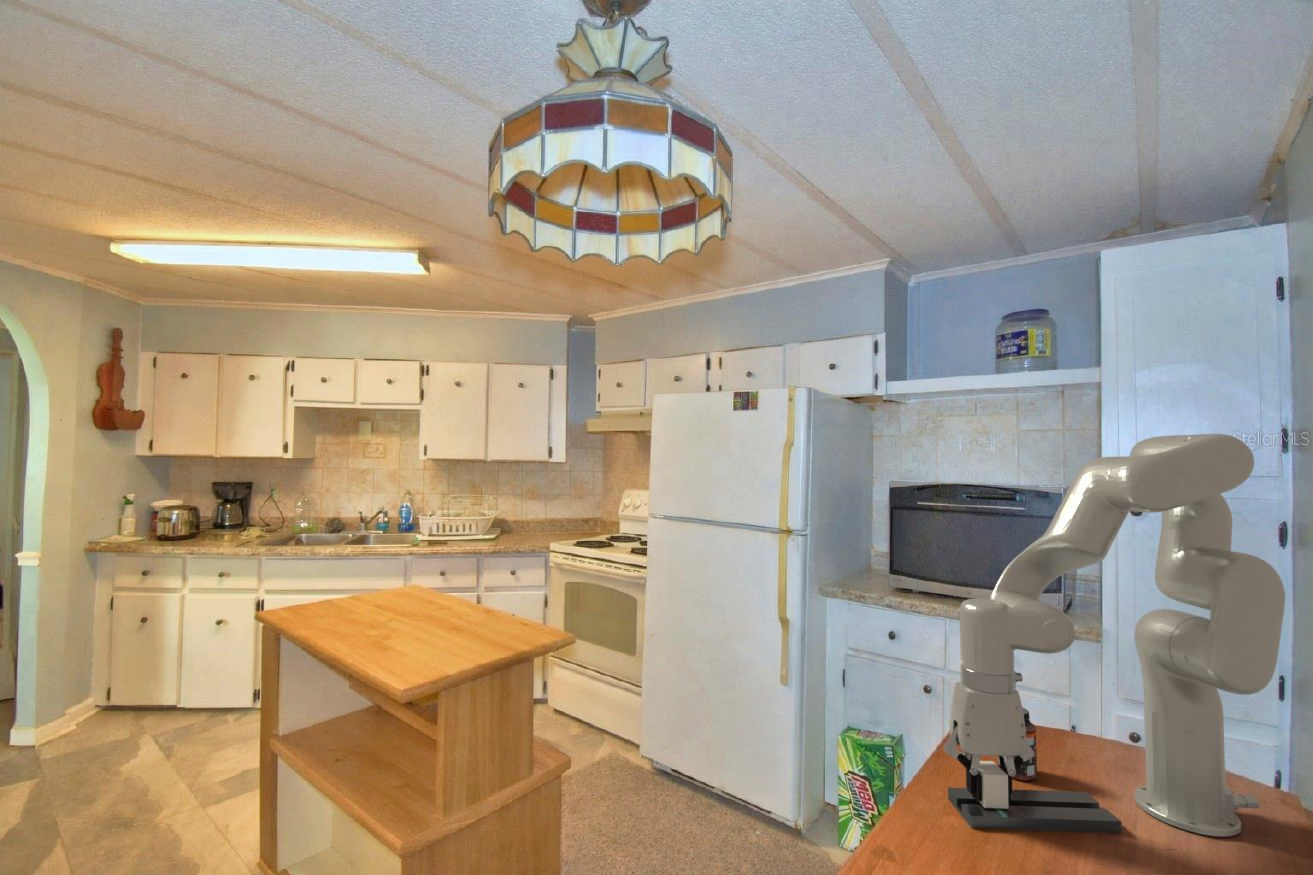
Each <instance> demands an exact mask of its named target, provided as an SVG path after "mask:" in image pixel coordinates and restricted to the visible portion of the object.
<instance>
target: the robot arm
mask: <svg viewBox="0 0 1313 875" xmlns="http://www.w3.org/2000/svg"><path fill="white" fill-rule="evenodd" d="M1254 467H1255V457H1254V454H1253V451H1252V449H1251V448H1250V447H1249V446H1248V444H1246V443H1245V442H1244V441H1243V440H1241V439H1239V438H1237V437H1235V436H1232V435H1229V434H1224V433H1202V434H1201V433H1200V434H1181V435H1179V434H1178V435H1177V434H1175V435H1161V436H1154V437H1149V438H1145V439H1143V440H1140V441H1139V442H1136V443H1135V444H1134V446H1133V447H1132V448H1131V450H1130V454H1129V456H1127V455H1126V456H1123V455H1122V456H1104V457H1096V458H1093V459H1091V460H1088V461H1087V462H1085V463H1083V465H1082V466H1081V467H1080V468H1079V470H1078V471H1077V473H1076V475H1075V476H1074V478H1073V481H1072V482H1071V484H1070V486H1069V487H1068V490H1067V492H1066V493H1065V495H1064V497H1063V499H1062V501H1061V503H1060V504H1059V507H1058V508H1057V510H1056V513H1055V515H1054V516H1053V518H1052V520H1051V522H1050V524H1049V525H1048V527H1047V529H1046V530H1045V532H1044V534H1043V535H1041V537H1039V538H1038V539H1036V540H1035V541H1034V542H1032V543H1031V544H1029V545H1028V546H1027V547H1026V548H1025V549H1024V550H1023V551H1022V552H1020V553H1019V554H1018V555H1017V556H1016V557H1014V558H1013V559H1012V561H1010V562H1009V564H1008V565H1007V566H1006V567H1005V569H1004V570H1003V571H1002V573H1001V575H1000V576H999V578H998V580H997V582H996V583H995V586H994V588H993V590H992V592H991V594H990V597H989V599H988V598H968V599H964V600H963V601H962V603H961V604H960V606H959V635H960V637H959V642H960V643H959V644H960V645H959V646H960V647H959V648H960V651H959V652H960V655H959V656H960V681H959V682H958V681H957V682H955V683H954V684H955V685H954V688H953V691H952V692H953V693H952V697H951V699H952V700H951V706H950V713H949V714H950V715H949V717H950V718H949V737H948V738H947V740H946V741H945V743H944V744H943V750H944V752H945V753H946V754H947V755H949V756H950V757H952V758H954V759H955V760H957V761H958V762H959V763H960V764H961V765H962V766H963V767H964V768H965V780H966V781H965V786H966V787H965V788H967V790H968V791H969V792H970V793H971V795H972V796H973V797H974V798H975V799H976V800H977V801H981V800H982V777H981V775H980V774H979V763H980V761H981V756H987V757H988V756H989V757H991V756H992V757H997V762H999V764H998V766H999V767H1000V768H1001V769H1002V770H1003V771H1004V772H1005V773H1006V774H1007V775H1008V802H1011V794H1012V790H1013V778H1012V776H1014V775H1015V774H1016V770H1017V769H1018V768H1019V767H1020V766H1021V765H1022V764H1023V762H1024V761H1027V760H1029V759H1030V758H1032V757H1033V756H1034V755H1035V753H1034V751H1033V750H1032V748H1031V747H1030V745H1029V743H1028V742H1027V740H1026V730H1025V721H1024V714H1023V709H1022V707H1023V705H1022V701H1021V697H1020V692H1019V691H1018V689H1016V688H1017V687H1016V683H1018V682H1023V680H1024V679H1023V674H1022V673H1021V672H1017V671H1016V670H1015V650H1019V651H1025V652H1026V651H1027V652H1031V653H1037V654H1048V655H1049V654H1050V655H1051V654H1057V653H1061V652H1063V651H1065V650H1067V649H1068V648H1070V646H1072V645H1073V643H1074V641H1075V639H1076V627H1075V624H1074V623H1073V622H1074V621H1072V619H1071V617H1069V615H1068V614H1067V613H1065V612H1064V611H1063V610H1061V609H1060V608H1058V607H1056V606H1054V605H1051V604H1048V603H1045V602H1043V601H1040V600H1039V599H1040V597H1041V596H1042V594H1043V592H1044V591H1045V590H1046V588H1047V587H1048V586H1049V585H1050V584H1051V583H1052V582H1054V581H1055V580H1056V579H1057V578H1059V577H1061V576H1063V575H1065V574H1067V573H1070V572H1074V571H1077V570H1079V569H1080V570H1081V569H1083V568H1087V567H1089V566H1093V565H1094V564H1095V565H1096V564H1098V563H1100V562H1101V561H1103V560H1104V559H1105V558H1106V557H1107V555H1108V553H1109V551H1110V549H1111V547H1112V545H1113V543H1114V541H1115V539H1116V537H1117V536H1118V533H1119V531H1120V530H1121V527H1122V526H1123V523H1124V522H1125V521H1126V519H1127V517H1128V515H1129V513H1130V511H1131V512H1139V513H1140V512H1141V513H1161V525H1160V526H1161V527H1160V534H1159V535H1160V536H1159V542H1158V548H1157V549H1158V550H1157V555H1156V556H1157V557H1156V561H1155V562H1156V563H1155V568H1154V569H1155V572H1154V580H1155V585H1156V587H1157V589H1158V590H1159V591H1160V593H1162V594H1163V595H1164V596H1165V597H1167V598H1169V599H1171V600H1174V601H1176V602H1178V603H1182V604H1185V605H1189V606H1192V607H1196V608H1200V609H1204V610H1206V611H1207V610H1208V611H1209V613H1210V615H1209V618H1207V617H1203V616H1200V615H1196V614H1193V613H1188V612H1185V611H1182V610H1181V611H1180V610H1176V609H1170V608H1169V609H1166V608H1163V609H1162V608H1161V609H1155V610H1151V611H1149V612H1146V613H1144V614H1143V615H1142V616H1141V617H1140V618H1139V620H1138V621H1137V623H1136V625H1135V628H1134V644H1135V647H1136V653H1137V657H1138V661H1139V664H1140V668H1141V676H1142V683H1143V684H1142V685H1143V699H1144V700H1143V703H1144V704H1143V709H1144V710H1143V712H1144V714H1143V715H1144V716H1143V717H1144V744H1145V745H1144V747H1145V753H1144V754H1145V781H1146V784H1145V785H1142V786H1138V787H1137V788H1136V789H1135V790H1134V800H1135V802H1136V804H1137V805H1138V806H1139V808H1141V809H1142V810H1144V812H1146V813H1147V814H1149V815H1150V816H1152V817H1154V818H1156V819H1157V820H1160V821H1161V822H1163V823H1166V824H1168V825H1170V826H1173V827H1175V828H1178V829H1181V830H1185V831H1188V832H1189V833H1190V832H1191V833H1195V834H1199V835H1204V836H1209V837H1217V838H1223V837H1224V838H1225V837H1228V838H1229V837H1234V836H1236V835H1239V834H1240V833H1241V832H1242V822H1241V819H1240V818H1239V817H1238V815H1237V814H1235V811H1237V810H1239V809H1240V808H1243V809H1259V808H1260V802H1259V799H1258V798H1257V797H1256V796H1255V795H1254V794H1251V793H1250V794H1249V793H1235V791H1234V790H1233V789H1232V787H1228V786H1227V785H1226V783H1227V782H1226V762H1225V761H1226V758H1225V756H1226V755H1225V731H1224V730H1225V728H1224V727H1225V726H1224V722H1225V721H1224V708H1223V707H1224V706H1223V702H1222V699H1221V697H1220V693H1219V690H1221V691H1223V692H1227V693H1230V694H1233V695H1235V694H1236V695H1241V696H1247V695H1248V696H1249V695H1254V694H1258V693H1259V692H1261V691H1262V690H1264V689H1265V688H1267V687H1268V685H1269V683H1270V682H1271V681H1272V679H1273V676H1274V675H1275V671H1276V666H1277V662H1278V657H1279V656H1278V655H1279V651H1280V650H1279V649H1280V642H1281V636H1282V635H1281V634H1282V628H1283V621H1284V612H1285V606H1286V604H1285V603H1286V592H1285V586H1284V583H1283V581H1282V579H1281V576H1280V575H1279V573H1278V571H1277V570H1276V569H1275V568H1274V567H1273V566H1272V565H1271V563H1268V562H1267V560H1266V561H1265V560H1264V559H1262V558H1260V557H1258V556H1256V555H1252V554H1250V553H1244V552H1239V551H1233V550H1232V538H1233V537H1232V536H1233V516H1232V511H1231V508H1230V506H1229V504H1228V502H1227V501H1226V498H1224V496H1223V493H1224V494H1225V493H1226V492H1229V491H1231V490H1235V489H1236V488H1238V487H1239V486H1241V485H1242V484H1243V483H1245V482H1246V481H1247V480H1248V479H1249V477H1250V476H1251V474H1252V472H1253V470H1254ZM1218 689H1219V690H1218ZM958 747H960V750H961V751H960V750H958ZM1226 786H1227V787H1226Z"/></svg>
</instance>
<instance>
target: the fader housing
mask: <svg viewBox="0 0 1313 875" xmlns="http://www.w3.org/2000/svg"><path fill="white" fill-rule="evenodd" d="M947 799H948V800H949V802H950V803H951V804H952V806H953V807H954V808H955V809H956V811H957V812H958V813H959V814H960V816H961V817H962V818H963V819H964V821H965V823H966V824H967V825H968V826H969V827H970V828H971V829H981V830H982V829H984V830H985V829H988V830H1010V831H1011V830H1012V831H1013V830H1015V831H1040V832H1063V833H1064V832H1068V833H1069V832H1070V833H1089V834H1090V833H1091V834H1092V833H1093V834H1094V833H1095V834H1097V833H1098V834H1122V832H1123V830H1122V826H1123V825H1122V824H1123V823H1122V821H1121V820H1120V819H1119V818H1118V817H1117V816H1116V815H1114V814H1113V813H1112V812H1111V811H1110V810H1108V809H1107V808H1100V803H1099V801H1097V800H1096V799H1095V798H1094V797H1092V795H1090V794H1089V793H1087V792H1086V791H1071V790H1070V791H1065V790H1036V789H1035V790H1034V789H1033V790H1032V789H1012V794H1011V802H1008V809H1005V808H984V807H983V805H982V804H981V803H980V802H979V801H977V800H976V799H975V798H974V797H973V796H972V795H971V793H970V792H969V791H968V790H967V787H947Z"/></svg>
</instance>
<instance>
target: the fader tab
mask: <svg viewBox="0 0 1313 875" xmlns="http://www.w3.org/2000/svg"><path fill="white" fill-rule="evenodd" d="M979 774H980V775H981V777H982V800H981V801H979V802H980V803H981V804H982V805H983V807H984V808H1005V809H1008V775H1007V774H1006V773H1005V772H1004V771H1003V770H1002V769H1001V768H1000V767H999V764H998V765H997V763H996V762H995V761H993V760H980V763H979Z"/></svg>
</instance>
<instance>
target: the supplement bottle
mask: <svg viewBox="0 0 1313 875" xmlns="http://www.w3.org/2000/svg"><path fill="white" fill-rule="evenodd" d="M1022 709H1023V714H1024V721H1025V730H1026V740H1027V742H1028V743H1029V745H1030V747H1031V748H1032V750H1033V751H1034V753H1035V755H1034V756H1033V757H1032V758H1030V759H1029V760H1027V761H1024V762H1023V764H1022V765H1021V766H1020V767H1019V768H1018V769H1017V770H1016V774H1015V775H1014V776H1012V779H1014V780H1018V781H1032V780H1035V779H1036V778H1037V775H1038V765H1037V764H1038V761H1037V760H1038V759H1037V758H1038V757H1037V728H1036V726H1035V725H1034V724H1033V723H1032V722H1031V720H1030V711H1029V710H1028V709H1027V708H1025V707H1023V706H1022ZM997 762H998V761H997ZM998 765H999V762H998Z"/></svg>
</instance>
